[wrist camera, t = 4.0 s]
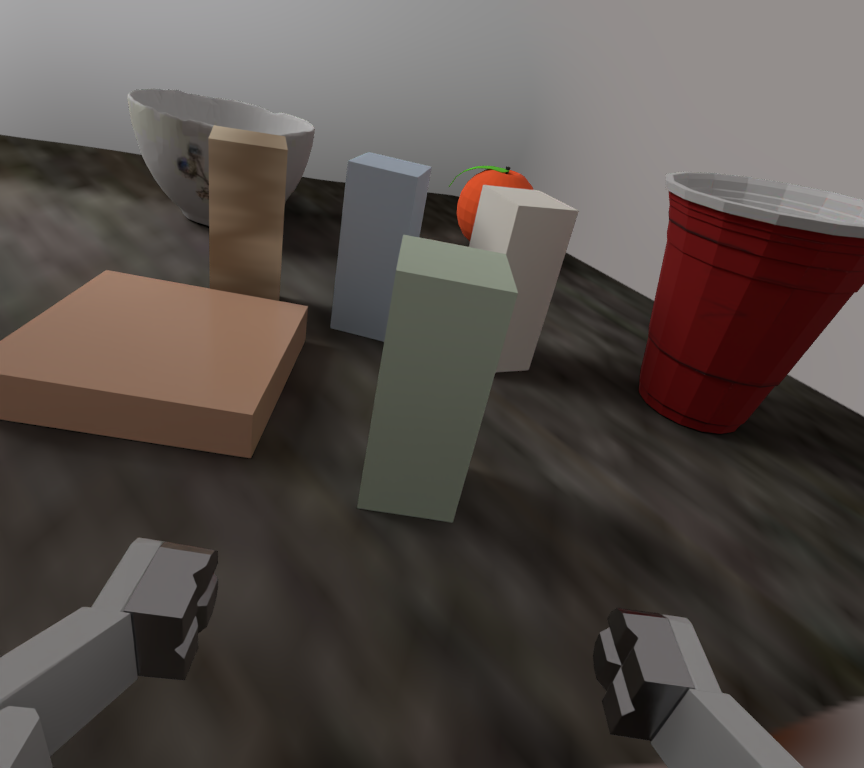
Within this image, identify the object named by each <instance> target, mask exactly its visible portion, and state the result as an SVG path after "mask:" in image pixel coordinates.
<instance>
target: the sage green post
mask: <svg viewBox="0 0 864 768" xmlns="http://www.w3.org/2000/svg"><path fill="white" fill-rule="evenodd" d="M517 295H518V291H517V288H516V285H515V282H514V278H513V275H512V272H511V269H510V265H509V262H508V259H507V256H506V254H502V253H497V252H492V251H487V250H482V249H476V248H471V247H466V246H461V245H455V244H450V243H445V242H440V241H435V240H429V239H424V238H419V237H414V236H409V235H403V238H402V243H401V248H400V253H399V258H398V263H397V268H396V273H395V279H394V285H393V291H392V298H391V304H390V310H389V316H388V322H387V328H386V334H385V340H384V346H383V352H382V358H381V365H380V371H379V377H378V383H377V389H376V395H375V401H374V407H373V413H372V419H371V425H370V431H369V438H368V444H367V450H366V456H365V462H364V468H363V474H362V480H361V486H360V492H359V498H358V505H357V508H359V509H366V510H373V511H379V512H386V513H393V514H399V515H406V516H412V517H419V518H426V519H432V520H439V521H446V522H452V523H453V520H454V517H455V513H456V510H457V506H458V503H459V499H460V496H461V492H462V489H463V485H464V482H465V478H466V475H467V471H468V468H469V464H470V460H471V457H472V453H473V450H474V446H475V443H476V439H477V436H478V432H479V429H480V425H481V422H482V418H483V415H484V411H485V408H486V404H487V401H488V397H489V394H490V390H491V386H492V383H493V379H494V376H495V372H496V369H497V365H498V362H499V358H500V355H501V351H502V348H503V344H504V341H505V337H506V334H507V330H508V327H509V323H510V319H511V316H512V312H513V309H514V305H515V302H516V298H517Z"/></svg>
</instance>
